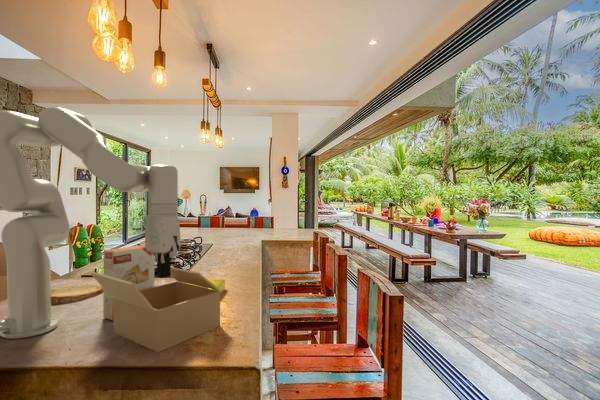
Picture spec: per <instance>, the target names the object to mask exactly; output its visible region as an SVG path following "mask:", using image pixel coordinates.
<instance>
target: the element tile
mask: <svg viewBox="0 0 600 400" xmlns="http://www.w3.org/2000/svg"><path fill="white" fill-rule="evenodd" d="M206 279H207V280H209V281H210V282H211V283H212V284H214V285H215V286H216V287H217V288H219V291H220V296H222V295H223V293H224V292H225V290H226V289H225V288H226V281H225V279H224V278H206ZM187 284H188V283H187ZM191 285H192V284H191ZM195 286H196V285H195ZM200 287H201V286H200ZM204 288H205V287H204ZM208 289H209V288H208ZM212 290H213V289H212ZM216 291H218V290H216Z"/></svg>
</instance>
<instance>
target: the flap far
mask: <svg viewBox="0 0 600 400" xmlns="http://www.w3.org/2000/svg"><path fill="white" fill-rule="evenodd" d="M155 267H157V263H156V264H155ZM169 277H171V278H172V279H174V281H178V282H183V283H188V284H192V285H196V286H201V287H205V288H209V289H213V290H218V291H219V288H217V287H216V286H215V285H214V284H212V283H211V282H210V281H209V280H207V279H208V278H206V277H205V276H204V275H203V274H201V273H200V272H198V271H193V270H187V269H183V268H178V267H174V266H171V275H170V276H169Z"/></svg>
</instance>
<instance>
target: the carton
mask: <svg viewBox="0 0 600 400" xmlns="http://www.w3.org/2000/svg"><path fill="white" fill-rule="evenodd" d="M139 291H140V292H141V293H142V294H143V296H144V297H145V298H146V299H147V301H148V302H149V303H150V304H151V305H152V307H153V308H154V309H155V310H156V311H155V312H152V311H149V310H146V309H143V308H140V307H137V306H134V305H131V304H128V303H125V302H122V301H119V300H116V299H113V306H114V321H113V334H115V335H117V336H120V337H123V339H126V340H128V341H131V342H133V343H135V344H137V345H140V346H142V347H145V348H146V349H149V350H151V351H153V350H154V351H153V352H156V353H159V352H161V351H164V350H166V349H169V348H171V347H173V346H176V345H179V344H181V343H183V342H186V341H189V340H190V339H193V338H195V337H197V336H199V335H202V334H204V333H206V332H209V331H211V330H213V329H216V328H218V327H220V326H221V295H220V291H216V290H212V289H208V288H204V287H200V286H195V285H191V284H187V283H184V282H180V281H177V280H174V281H171V282H167V283H163V284H159V285H154V287H150V288H146V289H142V290H139Z"/></svg>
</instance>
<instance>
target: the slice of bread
mask: <svg viewBox="0 0 600 400" xmlns="http://www.w3.org/2000/svg"><path fill="white" fill-rule="evenodd" d="M101 294H103V287H102V286H101V285H100V284H86V285H76V286H70V287H61V288H54V289H52V288H51V306H52V305H60V304H61V305H62V304H68V303H73V302H74V303H75V302H78V301H82V300H87V299H90V298H93V297H97V296H99V295H101Z"/></svg>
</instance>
